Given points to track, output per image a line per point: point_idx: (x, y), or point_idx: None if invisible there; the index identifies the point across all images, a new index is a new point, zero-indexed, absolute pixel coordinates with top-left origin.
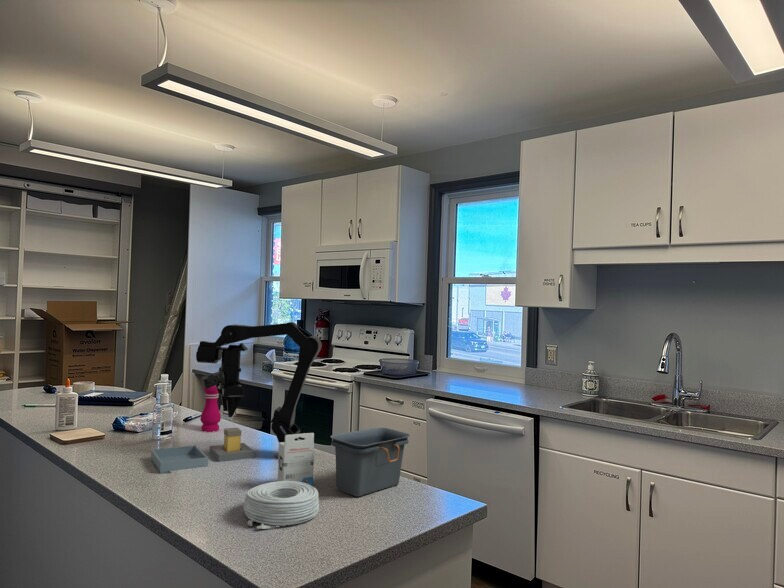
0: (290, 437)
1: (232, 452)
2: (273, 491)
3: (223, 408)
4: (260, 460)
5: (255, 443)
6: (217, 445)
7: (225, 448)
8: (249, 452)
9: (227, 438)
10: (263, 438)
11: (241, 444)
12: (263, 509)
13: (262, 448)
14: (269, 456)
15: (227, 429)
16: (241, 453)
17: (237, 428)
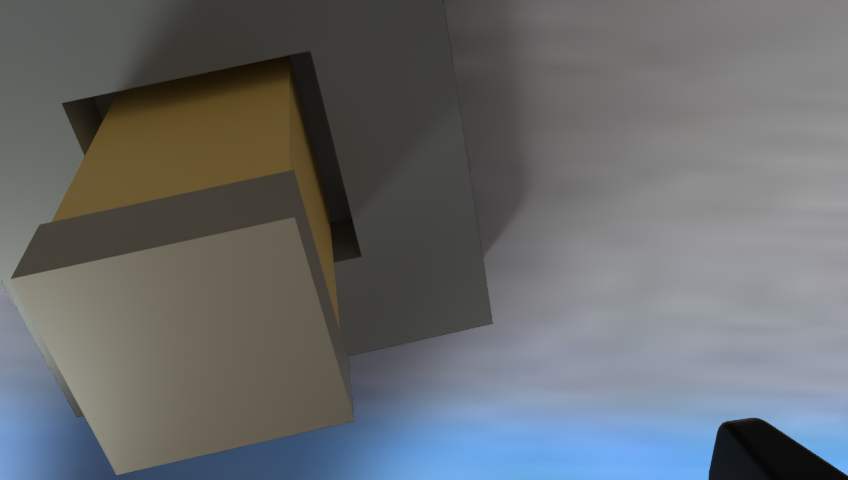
0: None
1: (14, 184)
2: None
3: (764, 465)
4: (52, 402)
5: (702, 382)
6: (440, 3)
7: (196, 107)
8: (53, 362)
9: (83, 203)
10: (842, 445)
11: (420, 299)
12: None
13: (500, 429)
14: (198, 472)
15: (212, 272)
16: (7, 281)
17: (280, 421)
